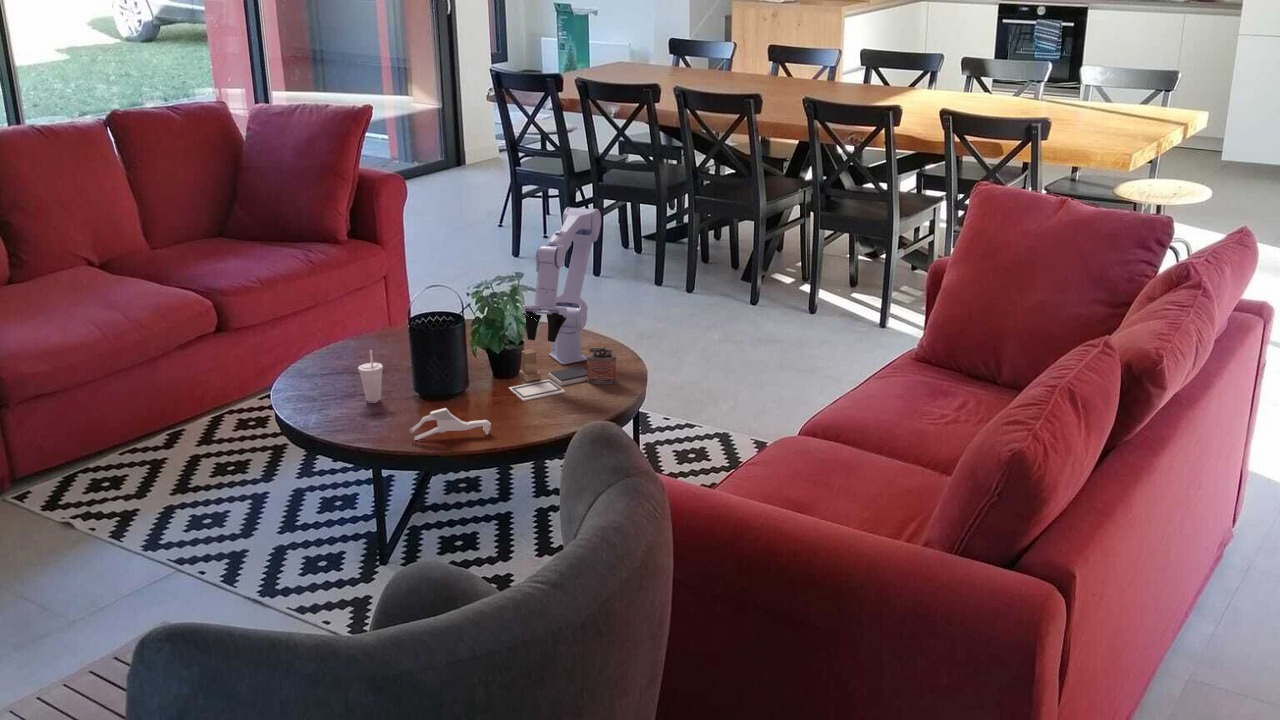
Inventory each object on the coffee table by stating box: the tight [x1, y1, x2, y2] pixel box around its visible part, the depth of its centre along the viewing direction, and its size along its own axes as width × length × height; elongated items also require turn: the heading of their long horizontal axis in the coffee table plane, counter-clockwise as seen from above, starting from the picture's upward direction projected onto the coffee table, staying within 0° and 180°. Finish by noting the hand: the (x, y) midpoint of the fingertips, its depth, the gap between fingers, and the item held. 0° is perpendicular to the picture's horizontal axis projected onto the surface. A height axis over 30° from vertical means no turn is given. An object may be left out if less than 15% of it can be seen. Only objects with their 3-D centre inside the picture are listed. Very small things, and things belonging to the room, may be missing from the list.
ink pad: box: [547, 365, 588, 387], centre depth 337 cm, size 8×10×2 cm
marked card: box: [508, 378, 566, 402], centre depth 328 cm, size 10×12×1 cm
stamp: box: [519, 348, 542, 384], centre depth 336 cm, size 5×4×8 cm
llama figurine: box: [409, 407, 492, 441], centre depth 300 cm, size 2×11×18 cm
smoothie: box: [357, 349, 384, 401], centre depth 321 cm, size 6×6×14 cm
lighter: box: [586, 345, 618, 385], centre depth 332 cm, size 8×3×10 cm, turn 84°
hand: (541, 340), depth 330 cm, fingers open, 7 cm apart
